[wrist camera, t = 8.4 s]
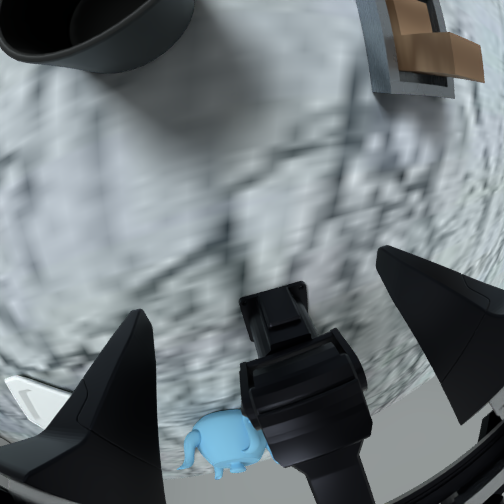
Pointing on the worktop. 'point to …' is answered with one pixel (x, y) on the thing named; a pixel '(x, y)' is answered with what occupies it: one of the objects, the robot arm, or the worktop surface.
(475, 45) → the tan toy chair
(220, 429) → the teapot
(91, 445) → the robot arm
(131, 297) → the worktop surface
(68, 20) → the mug
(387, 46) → the grey rectangular tray
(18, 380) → the plate
